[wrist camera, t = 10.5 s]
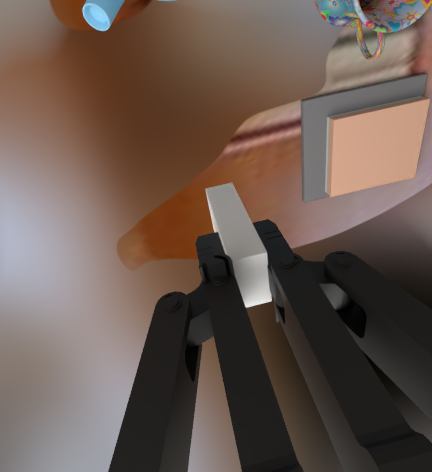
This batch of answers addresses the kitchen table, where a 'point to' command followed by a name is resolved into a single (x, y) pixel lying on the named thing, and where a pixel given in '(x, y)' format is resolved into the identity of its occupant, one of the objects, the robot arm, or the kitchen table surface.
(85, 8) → the teapot
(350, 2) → the mug
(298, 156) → the kitchen table surface
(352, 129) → the tile
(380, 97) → the mat
